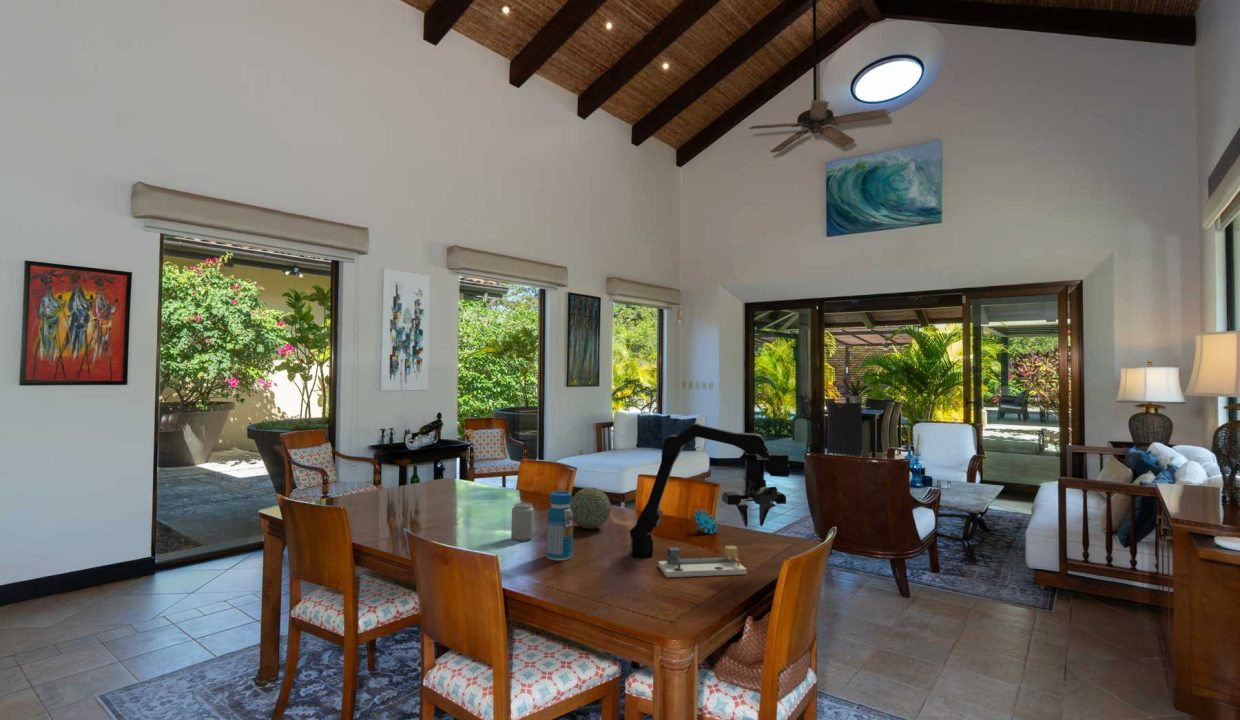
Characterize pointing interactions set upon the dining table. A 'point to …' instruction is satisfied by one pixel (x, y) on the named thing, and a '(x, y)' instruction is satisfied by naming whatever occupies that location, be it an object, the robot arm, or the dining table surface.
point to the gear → (705, 522)
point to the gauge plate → (701, 569)
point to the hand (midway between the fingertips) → (753, 526)
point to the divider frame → (675, 559)
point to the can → (522, 521)
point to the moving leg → (732, 553)
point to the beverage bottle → (560, 527)
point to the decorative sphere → (590, 508)
